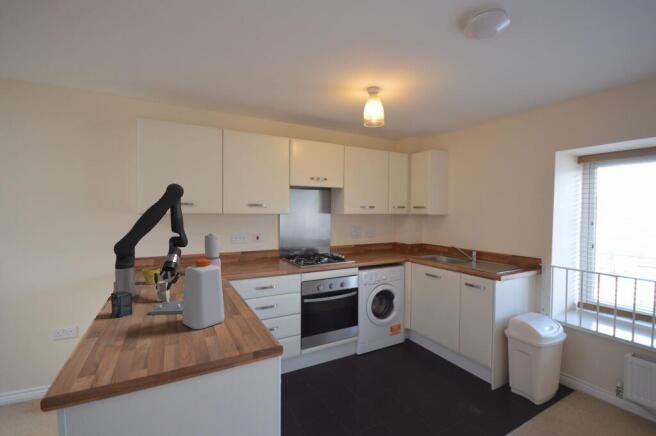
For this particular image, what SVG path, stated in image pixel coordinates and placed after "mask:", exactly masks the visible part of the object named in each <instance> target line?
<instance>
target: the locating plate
mask: <svg viewBox="0 0 656 436" xmlns="http://www.w3.org/2000/svg"><path fill="white" fill-rule="evenodd" d="M183 301H184V300H174V301H173V300H172V301H170V299H167V300H166V301H161V302H160V304H158V305H157V306H155V307H153V308H152V309H151V310H149V311H148V316H152V315H153V316H157V315H159V316H160V315H177V314H178V315H179V314H182V315H183Z"/></svg>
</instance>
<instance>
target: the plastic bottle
mask: <svg viewBox="0 0 656 436" xmlns="http://www.w3.org/2000/svg"><path fill="white" fill-rule="evenodd" d="M182 301H183V314H182V320H181V322H182V324H183V325H185V326H186V327H189V328H191V329H193V330H202V329H203V330H204V329H206V328H209V327H211V326H215V325H218V324H219V325H220V324H221V323H223V322H224V321H225V306H224V295H223V283H222V268H221V269H220V267H219V266H216V265H211V264H210V260H209V259H206V258H202V259H197V260H195V265H191V266H188V267H186V268H185V272H184V288H183V300H182Z"/></svg>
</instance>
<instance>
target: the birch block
mask: <svg viewBox="0 0 656 436" xmlns="http://www.w3.org/2000/svg"><path fill="white" fill-rule="evenodd" d="M168 283H169V280H164V281H160V282H158V283H157V284H156V285H157V289H156V292H157V293H156V295H157V302H166V300H167V299H169V300H170V297H171V295H170V290H171V288H170V289H169V290H167V289H166V288H167V285H168Z"/></svg>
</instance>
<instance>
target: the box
mask: <svg viewBox="0 0 656 436" xmlns="http://www.w3.org/2000/svg"><path fill="white" fill-rule="evenodd" d="M110 294H111V295H110V296H111V297H110V299H111V301H110V303H111V304H110V305H111V315H112V316H115V317H118V318H120V317H121V318H124V317H123V316H125V317H128V316H130V315H131V316H132V315H133V298H132V293H130V292H126V291H120V292H115V293H114V292H112V293H110ZM127 315H128V316H127Z"/></svg>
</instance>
